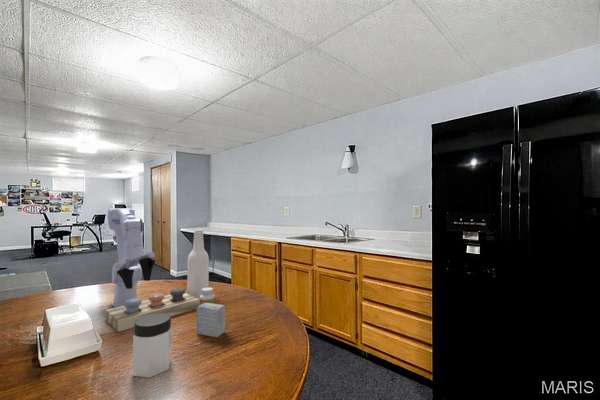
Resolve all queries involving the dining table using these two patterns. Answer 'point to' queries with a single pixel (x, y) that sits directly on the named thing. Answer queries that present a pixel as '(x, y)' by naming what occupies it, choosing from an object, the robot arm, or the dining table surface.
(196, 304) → the panel
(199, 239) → the alcohol
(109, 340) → the dining table surface
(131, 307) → the slate-blue plug
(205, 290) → the supplement bottle
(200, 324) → the medicine box
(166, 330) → the jar
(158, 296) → the terracotta plug
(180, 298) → the charcoal plug
